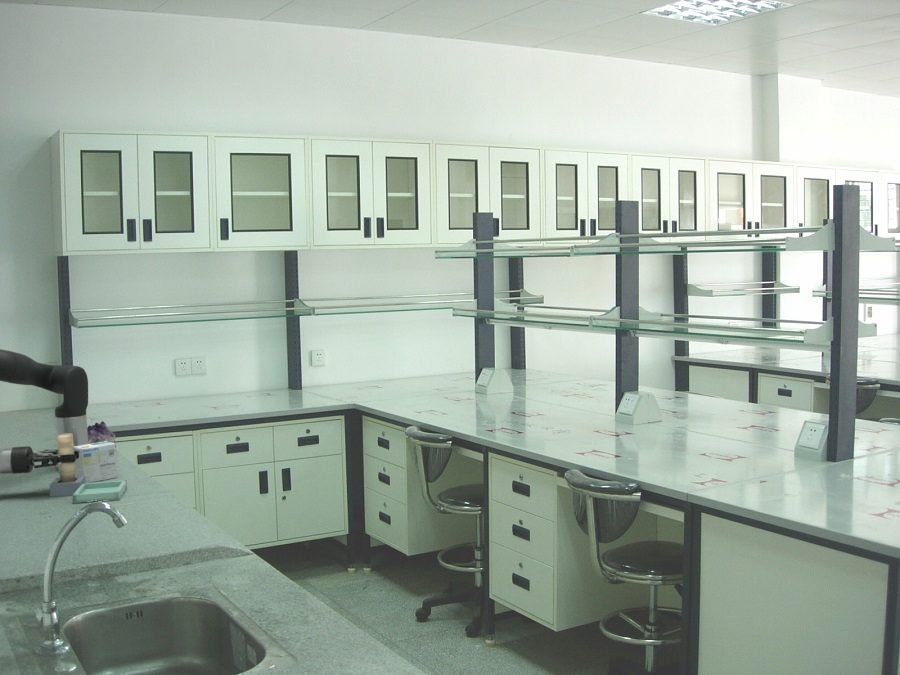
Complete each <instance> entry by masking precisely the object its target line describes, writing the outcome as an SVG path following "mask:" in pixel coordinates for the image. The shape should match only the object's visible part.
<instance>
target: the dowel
mask: <svg viewBox="0 0 900 675" xmlns="http://www.w3.org/2000/svg"><path fill="white" fill-rule="evenodd" d="M58 449H59V455H68V454H74V444H73V434H72V433H66V434H59V435H58ZM59 465H60V471H59V478H60V480H61V483H62V482H75V481H76V475H75V462H70V463H62V462H61V464H59Z"/></svg>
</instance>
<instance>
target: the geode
mask: <svg viewBox="0 0 900 675" xmlns="http://www.w3.org/2000/svg"><path fill="white" fill-rule="evenodd" d="M87 433H88V444H92V443H99V442H104V441H108V442H112V443H115V448H116V449H117V444H116V434H115V433H114V432H113V431H112V430H110V429H109V428H108V427H107V424H106V423H105V421H103V420H101V422H100V423H98V422H95V424H92V425H87Z"/></svg>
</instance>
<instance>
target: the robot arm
mask: <svg viewBox="0 0 900 675" xmlns="http://www.w3.org/2000/svg"><path fill="white" fill-rule="evenodd" d="M0 382H3V383H9V384H13V385H14V384H15V385H23V386H34V387H37V388H41V389H43V390H45V391H48V392H51V393H54V394H58V395H63V402H62V403H61V404H60V405H59V406H56V407H55V408H54V417H55V418H54V420H55V433H56V435H55V436H56V448H57V449H44V450H39V451H38V452H35V453H34V452H33V449H32V447H31V446H29V445H25V446H10V447H1V448H0V475H16V474H17V475H18V474H30V473H31V472H32V471H33V469H38V468H40V469H41V468H48V467H56V466H57V467H58V471H59V472H60V465H59V464H61V462H62V463H70V462H75V461H76V459H78V458H79V451H74V454H68V455H59V449H58V435H59V434H66V433H72V434H73V444H74V446H81V445H86V444H88V433H87V428H88V422H87V420H88V419H87V408H88V405H89V378H88V374H87V372H86V370H85V369H84V368H83V367H81V366H79V365H64V364H63V365H56V364H54V365H53V364H46V363H41V362H38V361H36V360H34V359H33V358H31V357H29V356H27V355H25V354H22V353H20V352H19V353H18V352H15V351H10V350H5V349H0Z"/></svg>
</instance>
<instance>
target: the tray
mask: <svg viewBox="0 0 900 675" xmlns="http://www.w3.org/2000/svg"><path fill="white" fill-rule="evenodd" d="M127 489H128V481H127V480H126V479H125V480H114V481H96V482H91V483H83V484H82V485H81V486H80V487H79V488H78V489H77V491H76V492H75V493H74V494H73V495H71V496H72V504H73V503H75V504H82V503H81V502H87V501H91V500H94V501H95V500H97V501H102V502H104V501H103V500H108V501H107V502H113V501H114V500H115V501H120V500H121V498H122V496H124V494H123V493H125V492H126V491H127ZM110 500H112V501H110ZM90 503H94V502H93V501H91V502H90Z"/></svg>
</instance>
